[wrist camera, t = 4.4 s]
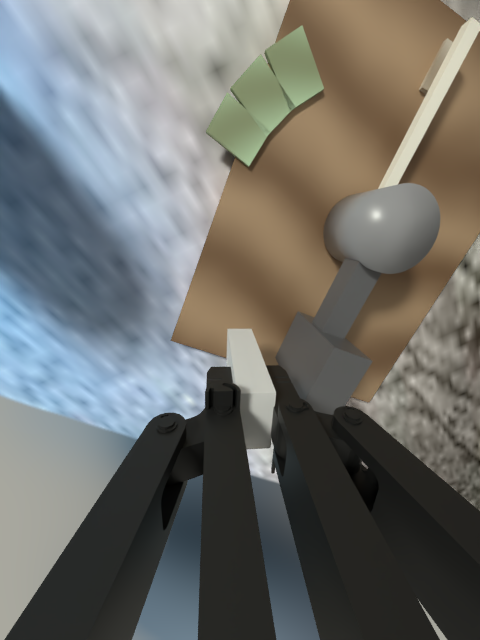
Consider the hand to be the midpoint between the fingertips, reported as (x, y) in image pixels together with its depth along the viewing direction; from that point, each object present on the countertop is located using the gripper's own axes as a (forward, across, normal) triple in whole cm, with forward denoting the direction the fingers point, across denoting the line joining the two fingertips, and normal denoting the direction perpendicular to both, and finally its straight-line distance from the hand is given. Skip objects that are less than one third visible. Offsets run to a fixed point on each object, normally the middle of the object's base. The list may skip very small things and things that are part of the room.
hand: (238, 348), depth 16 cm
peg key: (+3, +8, +7) cm, 11 cm away
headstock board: (+5, +8, +7) cm, 12 cm away
